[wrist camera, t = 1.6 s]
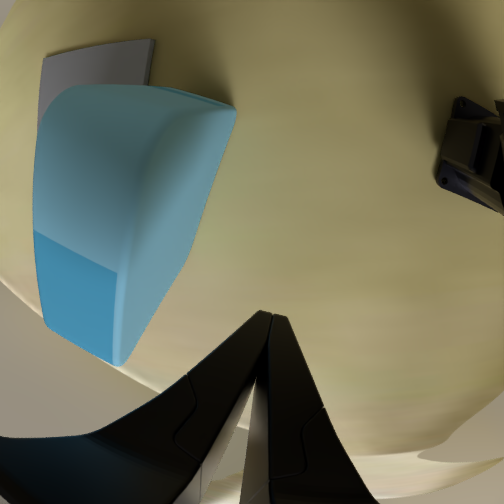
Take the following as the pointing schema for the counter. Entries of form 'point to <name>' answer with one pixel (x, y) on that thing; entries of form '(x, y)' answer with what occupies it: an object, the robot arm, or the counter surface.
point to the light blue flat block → (119, 205)
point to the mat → (95, 68)
